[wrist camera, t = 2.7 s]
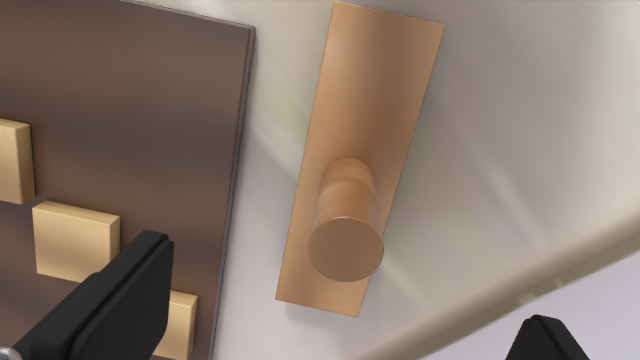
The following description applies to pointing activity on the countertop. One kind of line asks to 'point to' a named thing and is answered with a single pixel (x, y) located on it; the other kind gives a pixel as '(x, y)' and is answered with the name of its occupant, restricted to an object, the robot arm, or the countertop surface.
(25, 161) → the crumb
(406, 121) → the wooden knob plate
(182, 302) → the crumb
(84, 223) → the crumb
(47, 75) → the tray
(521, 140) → the countertop surface
